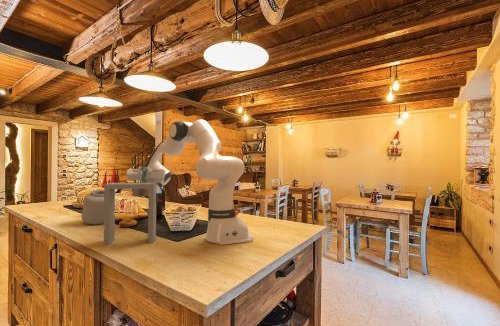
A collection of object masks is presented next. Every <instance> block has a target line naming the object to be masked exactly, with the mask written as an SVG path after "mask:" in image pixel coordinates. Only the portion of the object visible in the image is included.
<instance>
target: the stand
mask: <svg viewBox="0 0 500 326" xmlns="http://www.w3.org/2000/svg"><path fill="white" fill-rule="evenodd" d="M133 189H149V196H148V203H147V204H148V205H147V206H148V207H147V208H148V210H147V211H148V213H147V214H148V218H147V221H148V222H147V223H148V224H147V226H148V227H147V229H148V230H147V243H148V244H153V243H154V242H155V240H156V239H157V193H156V183H141V182H109V183H105V184H104V189H103V190H104V224H103V246H107V245H110V244H111V243H113V242H114V241H115V237H116V236H115V233H116V229H115V225H116V222H115V221H116V190H133Z"/></svg>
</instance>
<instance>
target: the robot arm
mask: <svg viewBox="0 0 500 326" xmlns="http://www.w3.org/2000/svg"><path fill="white" fill-rule="evenodd" d="M187 143H188V144H195V145H196V146H197V149H198V151H199V153H200V158H199V159H198V160H197V161H196V165H195V171H196V174H197V175H198V178H200V179H202V180H203V179H204V180H209V181H211V180H212V181H215V180H217V182H216V185H215V186H214V187H213V188H211V190H210V191H209V194H208V195H209V196H208V199H209V200H208V208H207V209H208V210H207V221H208V224H207V230H206V234H205V237H204V238H205V241H206V242H209V243H212V244H213V243H214V244H217V245H221V246H222V245H230V244H231V245H232V244H240V243H241V244H242V243H249V242H250V243H251V242H252V241H253V240H254V235H253V234H252V233H251V232H249V229H248V228H249V227H248V224H247V223H246V222H245V221H244V220H242V219H241V218H240V217H238V215H239V211H238V210H237V209H235V208H234V207H233V206H234V205H233V201H234V191H235V187H236V185H237V182H238V181H239V179H240V178H241V176H243V174H244V172H245V162H244V161H243V160H242V159H241V158H238V157H236V156H228V155H220V152H221V149H222V143H221V141H220V139H219V137H218V135H217V134H216V132H215V130H214V129H213V128H212V126H211V125H210V124H209V122H207V121H206V120H204V119H196V120H195V121H193V122H191V121H190V122H189V121H181V120H179V121H174V122H172V123H171V125H170V126H169V133H168V135H167V137H166V140H165V141H161V142H160V143H158V145H157V146H156V147H155V149H154V150H153V152H152V154H151V155H150V156H149V158H148V160H147V161H146V162H145V163H144V165H143V166H138V168H128V169H127V170H126V173H125V175H126V177H127V178H128V179H129V180H131V181H140V183H142V169H143V167H146V171H147V174H146V183H156V194H158V193H159V191H160V190H161V188H162V187H163V188H164V187H166V186H167V185H168V184H169V183H170V182H171V179H172V172H171V171H170V170H169V169H167V168H166V167H165V166H164V165H162V163H160V158H161V157H162V155H163V154H166V155H169V156H178V155H181V154H182V152H183V151H184V149H185V148H186V146H187ZM159 165H160V166H159Z"/></svg>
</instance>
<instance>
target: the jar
mask: <svg viewBox="0 0 500 326" xmlns="http://www.w3.org/2000/svg"><path fill="white" fill-rule="evenodd" d="M100 181H101V183H102V182H103V180H102V179H101V180H100ZM81 220H82V222H84V223H86V224H88V225H95V226H97V225H98V226H99V225H104V189H97V188H95V189H94V190H91V191H90V193H88V194H86V195H85V196H84V199H83V206H82V212H81Z"/></svg>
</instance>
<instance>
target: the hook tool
mask: <svg viewBox="0 0 500 326" xmlns="http://www.w3.org/2000/svg"><path fill="white" fill-rule="evenodd" d="M142 168H143V169H142V183H146V174H147V171H146V167H144V166H142ZM131 196H133V197H149V189H132V193H131Z"/></svg>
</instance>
